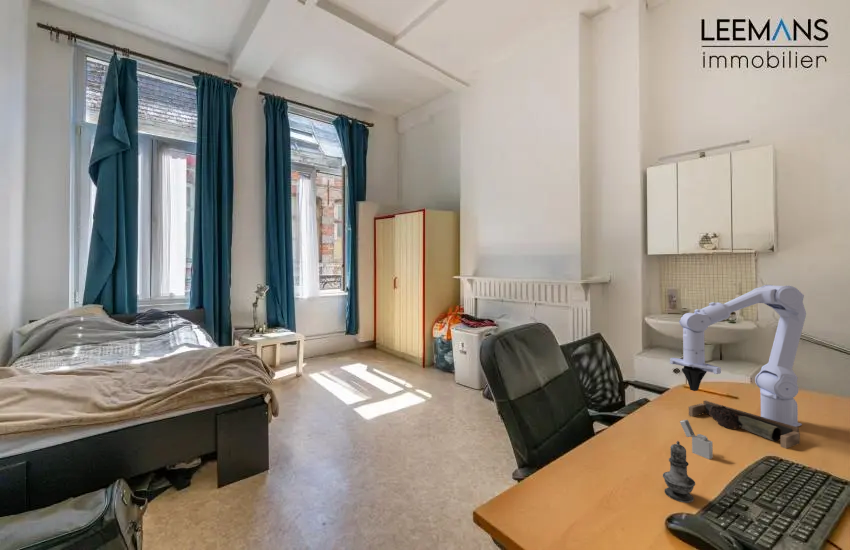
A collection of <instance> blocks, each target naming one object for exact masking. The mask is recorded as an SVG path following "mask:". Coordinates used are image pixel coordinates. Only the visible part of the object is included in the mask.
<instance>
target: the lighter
mask: <svg viewBox="0 0 850 550" xmlns="http://www.w3.org/2000/svg"><path fill="white" fill-rule="evenodd" d="M679 423H680V425H681V428H682V430H683V432H684V434H685V436H686V437H687V438H691V453H692V454H695V455H697V456H699V457H702V458H705V459H707V460H711V459H714V458H713V456H714V455H713V453H714V452H713V450H714V449H713V444H714V443H713V441H712V440H709V439H708V437H707V435H704V434H701V433H697V434H696V435H695V432H694V430H693V428H692V425H691V424H690V422H689V420H688V419H682V420H680V421H679Z"/></svg>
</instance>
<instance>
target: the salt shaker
mask: <svg viewBox="0 0 850 550" xmlns="http://www.w3.org/2000/svg"><path fill="white" fill-rule="evenodd" d="M668 462H669V463H670V464H669V466H670V469H669V471H665V472H663V474H662V477H663V479H664V482H665V484H666V486H667V487H666V488H664V493H665V495H666V496H667V497H669V498H670V499H672V500H674V501H677V502H679V503H686V504H687V503H689V504H690V503H693V502H694V501H695V497H694V496H693V495H692V494H691V493H692V492H693V489H694V487H695V486H696V481H695V480H694V479H693V478H692V477H690V476H689V475H688V466H689V462H688V461H687V449H686V447H685V446H684V445H682V444H681V443H680V441H679V440H677V441H676V443H674V444H671V445H670V457H669V458H668Z"/></svg>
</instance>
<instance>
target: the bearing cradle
mask: <svg viewBox="0 0 850 550" xmlns="http://www.w3.org/2000/svg"><path fill="white" fill-rule="evenodd" d="M711 406H717V407H718V406H721V407H722V406H725V405H723V404H719V403H715V402H712V401H709V400H703V403H696V404H694V405H689V406H688V416H689V415H690V417H692V418H693V417H696V415H697V416H700V415H699V414H701V415H703V414H702V413H704V414H706V413H707V415H709V410H710V407H711ZM725 408H728V409H731V410H732V411H734V412H735V413H737V414H738V415H741V416H746V417H749V418H752V419H755V420H758V421H761V422H764V423H767V424H770V425H773V426H776V427H779V428H780V429H781V431H782V432H781V433H782V435H781V436H780V437H781V439H780V447H781V448H783V449H789V448H791V447H792V448H793V446H796V445H799V444H800V443H801V442H800V441H801V439H800V434H801V433H800V428H799V426H797V427H795V426H791V425H788V424H784V423H781V422H778V421H774V420H771V419H767V418H764V417H761V415H756V414H753V413H750V412H747V411H743V410H739V409H737V408H733V407H729V406H725Z"/></svg>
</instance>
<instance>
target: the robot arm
mask: <svg viewBox="0 0 850 550" xmlns="http://www.w3.org/2000/svg"><path fill="white" fill-rule="evenodd" d="M804 299H805V295H804V293H802V292H801V290H800V289H798V288H797V287H796V286H792V285H773V284H764V285H762V286H760V287H755V288H753V289H752V290H750V291H748V292H746V293H743V294H742V295H740V296H737V297H736V298H732V299H731V300H728V301H727V302H725V303H723V302H714V301H712V302H709V303H708V306H707V305H706V306H705V307H703V308H700V309H699V308H696V309H694V312H686V313H684V314H683V315H682V316H681V317H680V320H679V321H678V323H679V325H680V327H681V328H682V343H683V344H682V346H683V347H682V348H683V349H682V350H683V351H682V353H683V357H682V358H677V357H670V358H669V364H670V365H675V366H676V365H677V366H682V367H683V368H681V372H682V373H683V374H684V377H685V378H686V381H687V383H688V386H689V389H690V391H693V392H696V391H699V389H700V385H701V382H702V380H703V378H704V376H705V375H706V374H707V372H708V373H709V372H710V373H713V374H714V375H718V374H721V373H722V370H721V369H722V367H720V366H717V365H713V364H709V363H706V355H705V354H706V351H705V331H706V330H707V329H708V328H709V327H710V326H712V325H715V324H717V323H719V322H722V321H724V320H727V319H729V318H730V316H731V314H732V313H734V312H737V311H739V310H742V309H745V308H747V307H751V306H754V305H756V304H764V305H766V306H767V307H770V308H771V309H773V310H774V311H775V312H776V313H777V314H778V315H779V319H778V324H777V327H776V330H775V334H774V335H775V336H774V339H773V344H772V347H771V350H770V354H769V359H768V362H767V363H766V364H764V365H762V366H761V369H760V370H759V372H758V373H757V374H756V375H755V377H754V382H755V384H756V387H758V388H759V392H760V417H764V418H767V419H771V420H774V421H778V422H781V423H784V424H788V425H791V426H795V427H800V426H802V425H803V424H802V423H801V422H799V421H798V418H799V417H798V415H799V414H798V413H799V411H798V407H799V406H798V402H797V401H796V399H795V397H797V395H798V394H799V386H798V379H799V377H798V376H797V374H796V373H795V371H794V370H793V368H794V367H793V366H794V364H795V363H794V362H795V359H796V356H797V351H798V347H799V344H800V340H801V336H802V332H803V328H804V324H805V321H806V316H807V312H806V309H805V305H804Z"/></svg>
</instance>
